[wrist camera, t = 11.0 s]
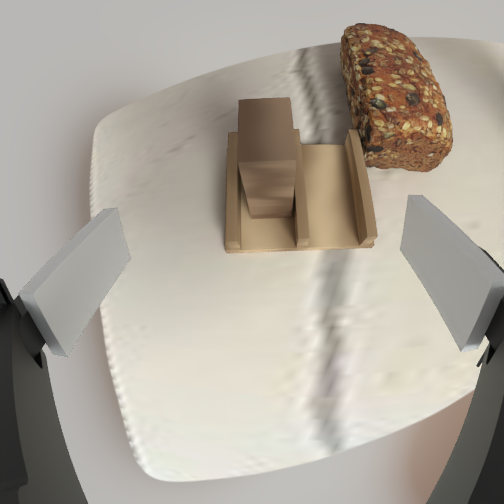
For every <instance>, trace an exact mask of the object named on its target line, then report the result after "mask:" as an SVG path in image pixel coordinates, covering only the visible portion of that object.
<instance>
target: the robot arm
mask: <svg viewBox="0 0 504 504" xmlns="http://www.w3.org/2000/svg"><path fill="white" fill-rule="evenodd" d="M400 250H401V252H402V253H403V255H404V256H405V258H406V259H407V261H408V262H409V264H410V265H411V267H412V268H413V270H414V272H415V273H416V275H417V276H418V278H419V279H420V281H421V283H422V284H423V286H424V287H425V289H426V291H427V292H428V294H429V296H430V297H431V299H432V301H433V302H434V304H435V306H436V307H437V309H438V311H439V313H440V314H441V316H442V318H443V320H444V321H445V323H446V325H447V327H448V329H449V330H450V332H451V334H452V336H453V338H454V340H455V342H456V344H457V346H458V347H459V349H460V351H461V352H465V351H470V350H474V349H478V347H479V346H480V344H481V342H482V340H483V338H484V336H485V335H486V337H487V339H488V340H489V342H490V343H489V345H488V346H487V348H486V350H485V352H484V353H483V355H482V357H481V359H480V360H479V362H478V364H477V367H479V366H480V364H481V363H482V366H481V370H480V374H479V378H478V381H477V385H476V388H475V392H474V395H473V398H472V401H471V404H470V407H469V410H468V413H467V416H466V419H465V422H464V424H463V427H462V430H461V432H460V435H459V437H458V440H457V442H456V444H455V447H454V449H453V451H452V454H451V456H450V458H449V461H448V462H447V465H446V467H445V469H444V471H443V473H442V475H441V477H440V479H439V481H438V483H437V485H436V486H435V489H434V490H433V492H432V494H431V496H430V498H429V499H428V501H427V503H426V504H504V270H503V269H502V267H501V266H500V267H499V264H498V263H497V262H496V261H495V260H493V258H492V257H491V256H490V255H489V254H488V253H487V252H486V251H485V250H483V249H482V248H480V247H479V246H477V245H476V244H475V243H474V242H473V241H472V240H471V239H470V238H469V237H468V236H467V235H466V234H465V233H464V232H463V231H462V230H461V229H460V228H459V227H458V226H457V225H456V224H455V223H453V222H452V221H451V220H450V219H449V218H448V217H447V216H446V215H445V214H444V213H442V212H441V211H440V210H439V209H438V208H437V207H436V206H434V205H433V204H432V203H431V202H430V201H429V200H427V199H426V198H425V197H424V196H423V195H408V200H407V208H406V215H405V222H404V229H403V235H402V241H401V247H400ZM130 259H131V257H130V254H129V250H128V247H127V243H126V240H125V236H124V232H123V229H122V225H121V221H120V217H119V213H118V209H117V208H110V209H104V210H102V211H101V212H100V213H99V214H98V215H97V216H96V217H94V218H93V219H92V220H91V221H90V222H89V223H88V224H87V225H86V226H84V227H83V228H82V229H81V230H80V231H79V232H78V233H77V234H76V235H75V236H74V237H73V238H72V239H70V241H69V242H67V243H66V244H65V245H64V246H63V247H62V248H61V249H60V250H59V251H58V252H57V253H56V254H55V255H54V256H53V257H52V258H51V259H50V260H49V261H48V262H47V263H46V264H45V265H44V266H43V267H42V268H41V269H40V270H39V271H38V272H37V274H36V275H35V276H34V277H33V278H32V279H31V280H30V281H29V282H28V283H27V284H26V285H25V286H24V288H23V289H22V290H21V291H20V292H19V295H18V296H17V297H16V299H15V300H13V298H12V297H11V295H10V292H9V291H8V288H7V286H6V284H5V282H4V280H3V279H0V504H88V502H87V500H86V497H85V495H84V492H83V490H82V488H81V485H80V483H79V480H78V478H77V475H76V472H75V470H74V467H73V464H72V461H71V458H70V456H69V452H68V449H67V446H66V443H65V439H64V436H63V433H62V429H61V425H60V422H59V418H58V414H57V410H56V406H55V402H54V397H53V393H52V388H51V383H50V378H49V372H48V366H47V360H46V356H45V353H44V352H43V350H42V347H43V346H44V344H45V343H46V344H47V345H48V347H49V349H50V350H51V352H52V353H53V354H54V355H59V356H64V357H68V356H69V354H70V353H71V351H72V349H73V347H74V346H75V344H76V343H77V341H78V339H79V338H80V336H81V334H82V333H83V331H84V329H85V327H86V326H87V324H88V323H89V321H90V320H91V318H92V316H93V315H94V313H95V312H96V310H97V308H98V307H99V305H100V304H101V302H102V301H103V299H104V298H105V296H106V295H107V293H108V292H109V290H110V289H111V287H112V286H113V284H114V283H115V281H116V280H117V278H118V277H119V275H120V274H121V272H122V271H123V269H124V268H125V267H126V265H127V264H128V262H129V261H130Z"/></svg>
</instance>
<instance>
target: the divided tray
mask: <svg viewBox="0 0 504 504" xmlns="http://www.w3.org/2000/svg"><path fill="white" fill-rule="evenodd" d="M294 138H295V148H296V158H297V163H296V174H295V185H294V196H293V206H292V216H291V218H272V219H251V215H250V211H249V207H248V202H247V198H246V194H245V190H244V186H243V182H242V178H241V174H240V170H239V166H238V132H230V133H228V148H227V167H226V221H225V251H226V253H243V252H270V251H297V250H324V249H351V248H372V247H373V246H374V240H375V239H376V238H377V236H378V235H377V228H376V221H375V214H374V208H373V202H372V196H371V190H370V185H369V180H368V174H367V169H366V165H365V160H364V155H363V151H362V146H361V142H360V137H359V133H358V130H352V129H349V130H348V134H347V137H346V140H345V144H344V145H301V142H300V134H299V129H294Z"/></svg>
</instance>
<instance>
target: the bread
mask: <svg viewBox="0 0 504 504" xmlns="http://www.w3.org/2000/svg"><path fill="white" fill-rule="evenodd" d="M340 57H341V61H340V62H341V70H342V74H343V78H344V81H345V87H346V95H347V97H348V105H349V106H350V114H351V119H352V124H353V128H354V130H358V133H359V137H360V142H361V146H362V151H363V155H364V160H365V165H366V167H373V166H374V167H377V168H380V169H388V168H404V169H406V170H408V171H420V172H428V171H430V170H432V169H434V168H436V167H437V166H438V165H439V164H441V162H442V160H443V159H444V157H445V156H447V155H448V153H449V152H450V151H451V148H452V143H453V138H452V124H451V121H450V114H449V111H448V110H447V108H446V102H445V98H444V95H443V94H442V92H441V89H440V87H439V84H438V83H437V82H436V80H435V77H434V76H433V74H432V70H431V69H430V65H429V62H428V61H426V60H425V59H424V58H423V56H422V55H421V54H420V52H419V50H418V49H417V48H416V45H415V44H414V43H413V42H412V41H411V40H410V39H409V38H408V37H406V36H405V35H404V34H402V33H399V32H398V31H395V30H394V29H389V28H387V27H385V26H381V25H376V24H365V23H358V24H356V25H354V26H349V27H347V28H346V29H345V30H344V35H343V36H342V38H341V52H340Z"/></svg>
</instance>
